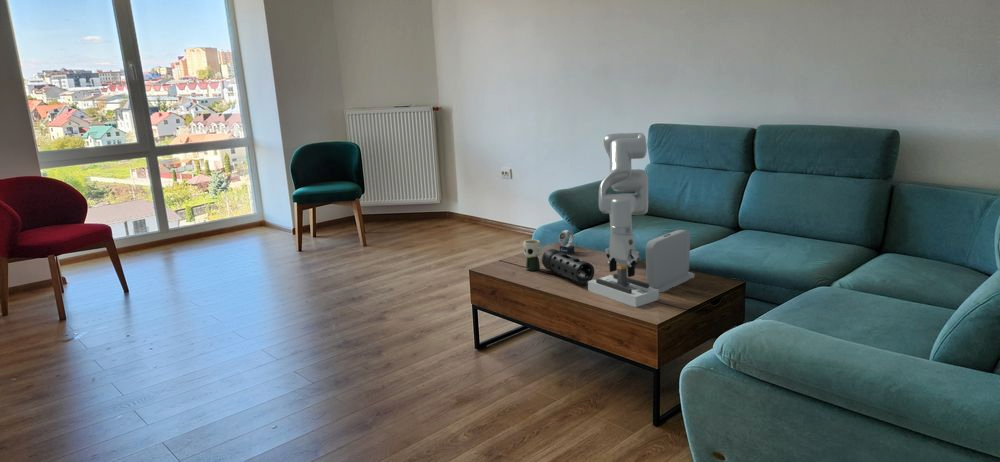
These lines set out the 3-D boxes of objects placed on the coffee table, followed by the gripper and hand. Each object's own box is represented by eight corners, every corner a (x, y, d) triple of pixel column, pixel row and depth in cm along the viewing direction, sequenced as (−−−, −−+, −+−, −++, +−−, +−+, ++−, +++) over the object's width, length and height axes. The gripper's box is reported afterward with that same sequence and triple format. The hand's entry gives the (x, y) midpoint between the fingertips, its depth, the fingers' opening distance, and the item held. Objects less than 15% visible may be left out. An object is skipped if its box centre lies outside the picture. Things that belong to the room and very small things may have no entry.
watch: (557, 253, 321) (556, 231, 318) (568, 250, 325) (568, 228, 323) (565, 255, 316) (564, 233, 314) (577, 251, 321) (576, 229, 319)
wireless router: (677, 271, 283) (678, 225, 278) (699, 275, 276) (699, 228, 271) (636, 289, 262) (635, 240, 257) (658, 294, 255) (658, 244, 250)
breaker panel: (610, 284, 270) (610, 274, 269) (658, 299, 249) (658, 289, 248) (588, 290, 264) (587, 280, 263) (635, 307, 243) (635, 296, 242)
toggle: (622, 282, 258) (622, 263, 256) (629, 284, 255) (629, 265, 253) (614, 284, 256) (614, 265, 254) (622, 286, 253) (621, 267, 251)
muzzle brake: (576, 288, 268) (575, 264, 265) (540, 272, 292) (539, 249, 289) (595, 284, 272) (594, 260, 269) (558, 268, 296) (558, 246, 294)
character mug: (518, 269, 298) (517, 241, 295) (530, 265, 303) (528, 238, 300) (536, 273, 290) (534, 245, 287) (547, 269, 295) (546, 241, 292)
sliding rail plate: (615, 277, 266) (615, 273, 265) (649, 287, 251) (649, 283, 251) (596, 283, 260) (596, 279, 260) (629, 293, 245) (629, 289, 245)
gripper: (645, 232, 245) (645, 276, 249) (612, 225, 259) (613, 267, 263) (630, 235, 241) (631, 280, 245) (598, 228, 255) (599, 271, 259)
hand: (622, 273), depth 254 cm, fingers open, 9 cm apart
